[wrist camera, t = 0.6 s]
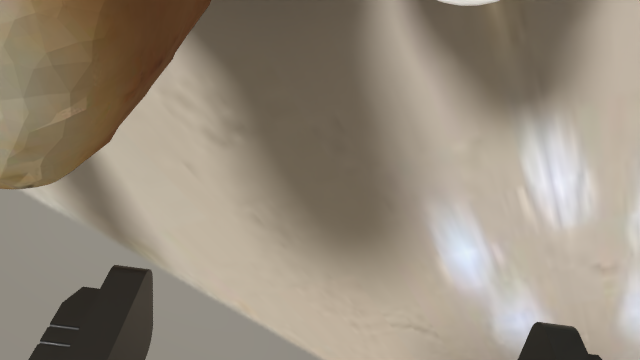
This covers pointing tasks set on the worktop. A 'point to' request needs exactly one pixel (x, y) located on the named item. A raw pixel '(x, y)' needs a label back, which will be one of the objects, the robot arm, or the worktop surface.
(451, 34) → the worktop surface
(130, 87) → the butternut squash
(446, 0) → the spread jar
